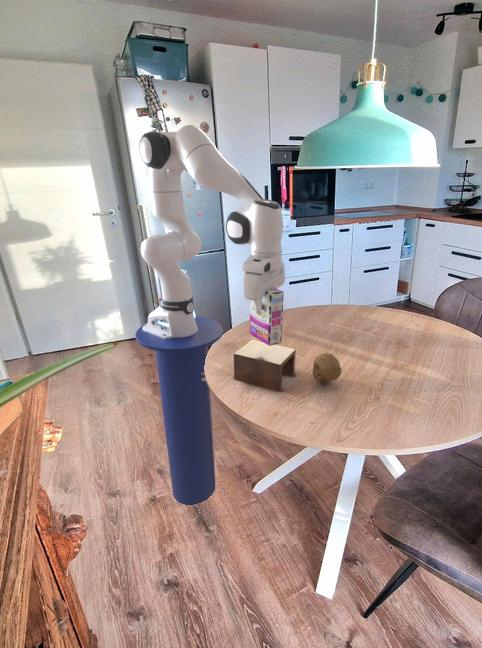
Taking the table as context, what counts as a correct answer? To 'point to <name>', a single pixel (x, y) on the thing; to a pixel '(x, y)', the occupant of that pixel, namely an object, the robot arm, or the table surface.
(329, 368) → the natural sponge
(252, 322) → the candy bar box
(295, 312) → the table surface
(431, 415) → the table surface
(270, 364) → the walnut shelf
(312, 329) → the table surface
